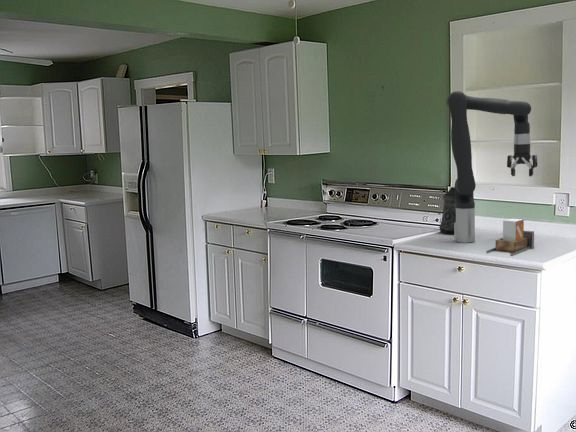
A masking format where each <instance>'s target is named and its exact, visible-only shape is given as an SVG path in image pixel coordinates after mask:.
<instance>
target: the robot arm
mask: <svg viewBox="0 0 576 432" xmlns="http://www.w3.org/2000/svg"><path fill="white" fill-rule="evenodd" d="M445 102H446V106H447V107H448V109H449V112H450V118H451V126H450V127H451V128H450V129H451V130H450V144H451V151H452V155H453V159H454V162H455V165H456V171H457V172H456V173H457V174H456V176H457V178H456V179H455V182H454V187H455V203H456V222H455V223H454V235H453V236H454V238H453V239H454V242H457V243H465V244H466V243H474V242H476V214H475V213H476V206H475V205H476V204H475V199H474V192H475V189H476V181H475V176H474V171H473V164H472V163H473V161H472V160H473V157H472V155H473V154H472V141H471V134H470V129H469V124H468V114H467V113H468V110H469V111H470V110H472V111H480V112H485V113H491V114H499V115H513V123H514V133H513V135H514V136H513V155H507V161H506V167H507V168H510V175H511V177H516V167H517V166H518V165H525V166H527V168H529V169H528V177H532V176H533V175H534V168H537V167H538V155H537V154H532V155H531V132H530V130H531V125H530V122H529V115H530V113H531V112H532V106H531V104H530V103H529V102H527V101H521V100H508V99H503V98H493V97H476V96H472V95H471V96H470V95H467V94H465V93H464V92H463V91H461V90H455V91H453V92H451V93H449V94H448V96H447V97H446V101H445ZM512 160H514V161H512ZM531 160H532V162H531Z"/></svg>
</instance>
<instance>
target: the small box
mask: <svg viewBox="0 0 576 432" xmlns="http://www.w3.org/2000/svg"><path fill="white" fill-rule="evenodd" d="M524 223H525V221H524V219H523V218H522V219H521V218H512V217H511V218H508V219H505V220H504V219H503V220H502V238H503V240H505V241H518V240H520V239H523V238H524V231H525V230H524V229H525V227H524V226H525V224H524Z"/></svg>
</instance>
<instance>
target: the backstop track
mask: <svg viewBox="0 0 576 432" xmlns="http://www.w3.org/2000/svg"><path fill="white" fill-rule="evenodd" d="M524 238H528V247H525V248H523V249H520V250H518V251H515V252H513V253H512V252H509V253H510V254H509V255H510V256H509V257H514V256H517V255H519V254H521V253H523V252H526V251H528V250H533V249H535V231H532V230H524ZM495 251H496V246H494V247H493V248H490V249H487V250H486V252H485V253H486V254H490V253H492V252H495ZM496 252H497V251H496Z"/></svg>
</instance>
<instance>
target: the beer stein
mask: <svg viewBox="0 0 576 432" xmlns="http://www.w3.org/2000/svg"><path fill="white" fill-rule="evenodd" d="M442 199H443V208H442V209H443V210H442V216H441V221H440V224H439V228H438V229H439V231H440V232H439V233H440V234H442V235H446V236H447V235H448V236H454V223H455V222H456V203H455V186H454V187H450V189H449V190H448V191H447V192H445V193H444V194H443V196H442Z"/></svg>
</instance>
